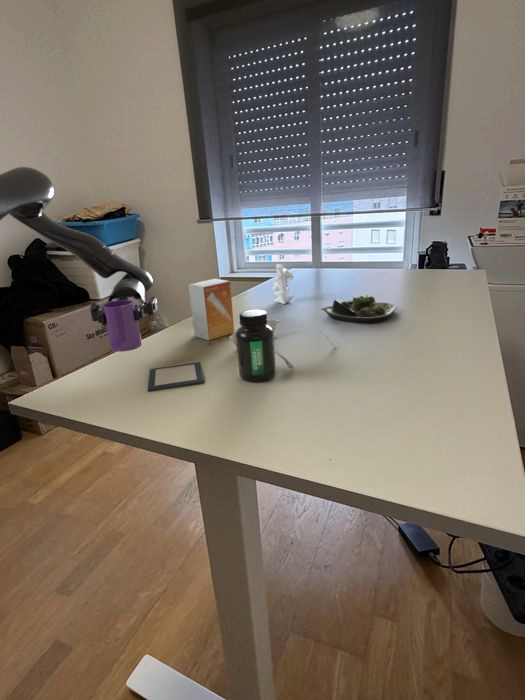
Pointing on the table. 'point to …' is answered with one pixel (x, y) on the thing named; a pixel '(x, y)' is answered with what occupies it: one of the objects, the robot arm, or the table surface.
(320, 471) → the table surface
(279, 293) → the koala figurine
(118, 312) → the tumbler
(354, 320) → the salad plate
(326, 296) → the table surface
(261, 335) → the supplement bottle
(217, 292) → the small box
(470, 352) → the table surface
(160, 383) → the tablet
